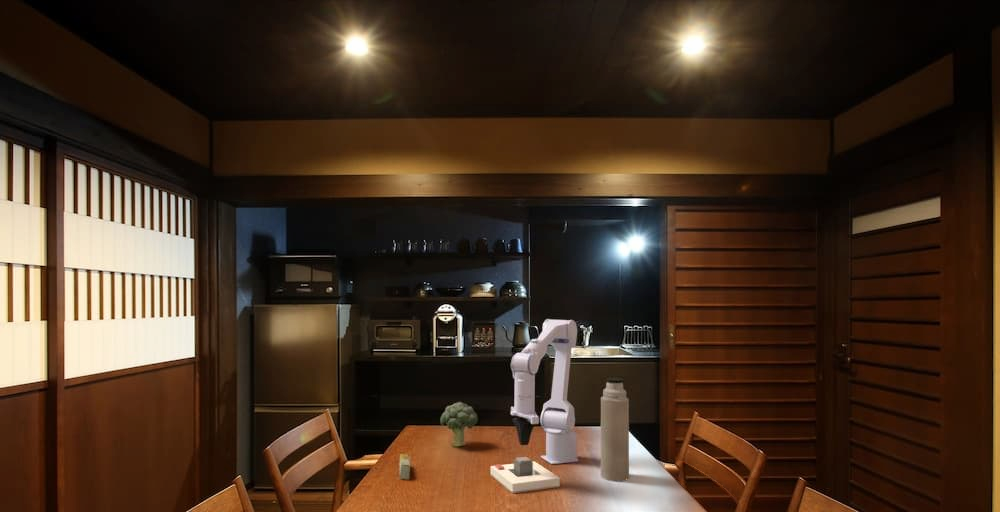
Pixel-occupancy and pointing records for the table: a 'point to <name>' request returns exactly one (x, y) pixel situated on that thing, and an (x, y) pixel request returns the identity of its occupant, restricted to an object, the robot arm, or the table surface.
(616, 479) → the thermos bottle
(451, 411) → the vegetable
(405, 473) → the medication box
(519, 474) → the plug
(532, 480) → the faceplate
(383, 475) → the table surface
